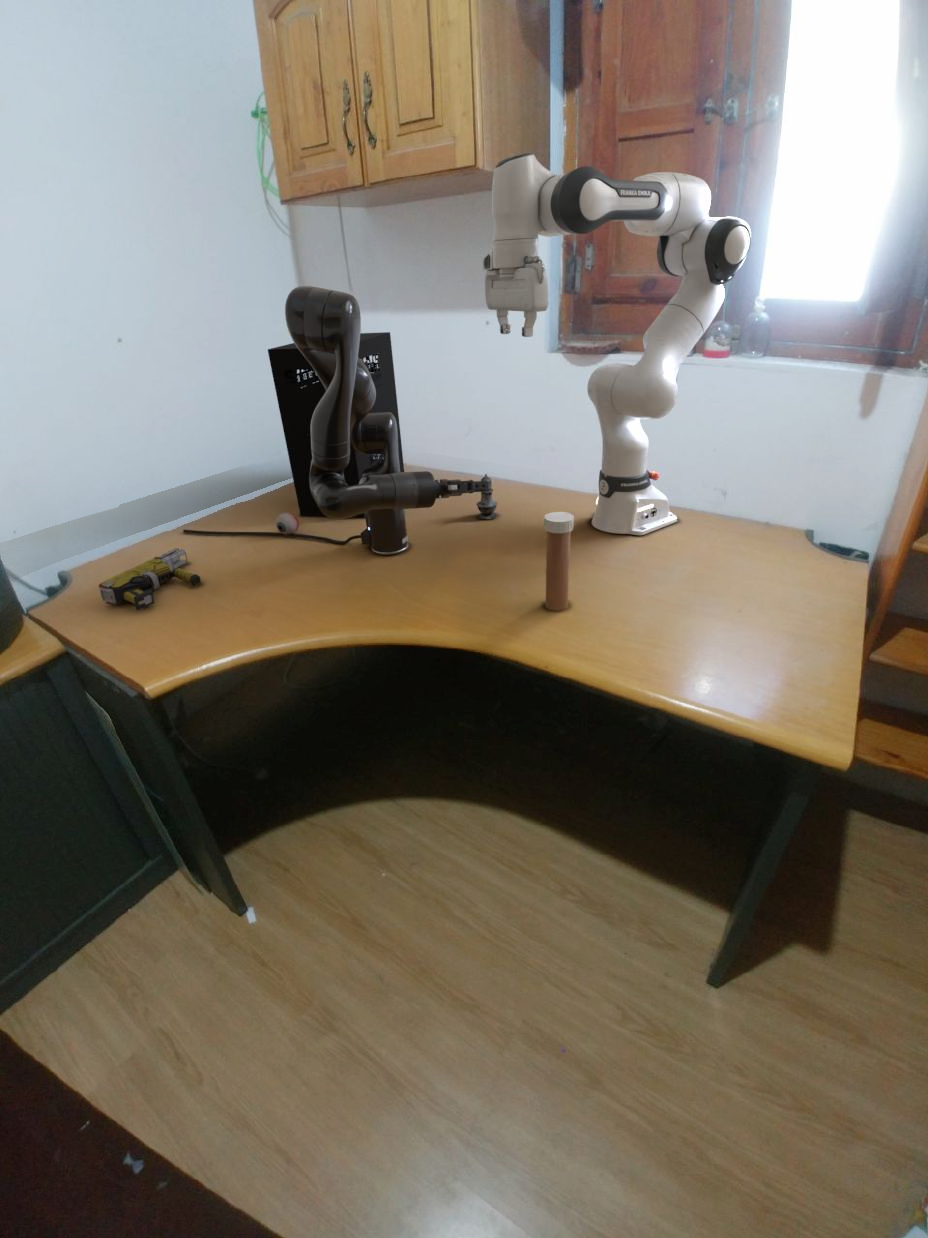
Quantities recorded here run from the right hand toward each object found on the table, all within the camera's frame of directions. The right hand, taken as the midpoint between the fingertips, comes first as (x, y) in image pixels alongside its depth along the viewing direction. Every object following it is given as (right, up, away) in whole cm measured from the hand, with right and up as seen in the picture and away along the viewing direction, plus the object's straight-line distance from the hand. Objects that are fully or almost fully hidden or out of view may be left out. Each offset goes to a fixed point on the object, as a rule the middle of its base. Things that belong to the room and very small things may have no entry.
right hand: (516, 335), depth 125 cm
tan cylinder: (+8, -56, -2) cm, 57 cm away
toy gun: (-80, -52, +15) cm, 96 cm away
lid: (+7, -40, -11) cm, 42 cm away
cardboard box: (-45, -20, +66) cm, 83 cm away
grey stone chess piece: (-4, -30, +44) cm, 54 cm away
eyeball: (-59, -36, +40) cm, 80 cm away
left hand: (-8, -30, +8) cm, 32 cm away
